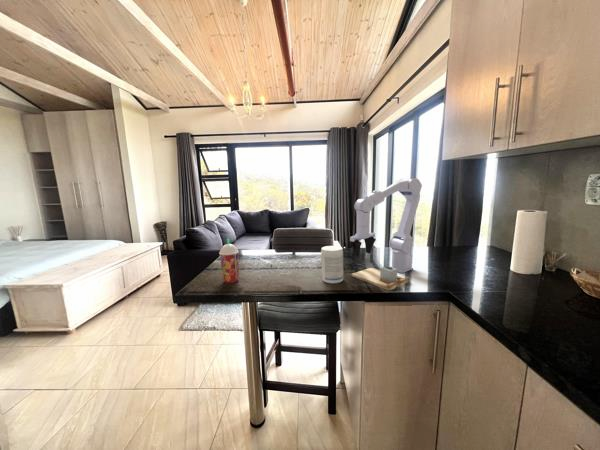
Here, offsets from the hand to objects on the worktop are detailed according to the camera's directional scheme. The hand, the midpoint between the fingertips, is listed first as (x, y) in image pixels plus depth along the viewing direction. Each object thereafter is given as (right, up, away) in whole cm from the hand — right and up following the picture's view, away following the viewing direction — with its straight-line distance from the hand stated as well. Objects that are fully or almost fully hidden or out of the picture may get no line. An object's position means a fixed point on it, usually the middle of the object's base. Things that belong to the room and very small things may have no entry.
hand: (362, 254), depth 111 cm
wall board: (+6, -11, -4) cm, 13 cm away
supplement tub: (-14, -11, -3) cm, 19 cm away
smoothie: (-60, -12, -2) cm, 61 cm away
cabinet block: (+9, -10, -8) cm, 16 cm away
